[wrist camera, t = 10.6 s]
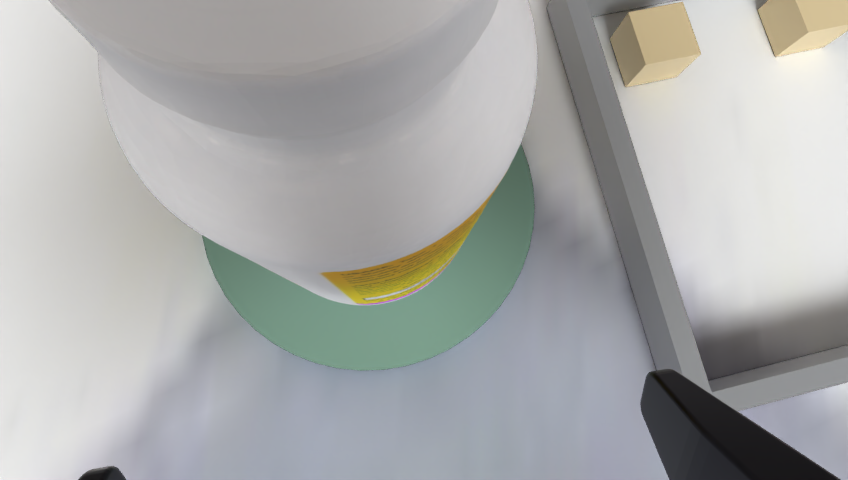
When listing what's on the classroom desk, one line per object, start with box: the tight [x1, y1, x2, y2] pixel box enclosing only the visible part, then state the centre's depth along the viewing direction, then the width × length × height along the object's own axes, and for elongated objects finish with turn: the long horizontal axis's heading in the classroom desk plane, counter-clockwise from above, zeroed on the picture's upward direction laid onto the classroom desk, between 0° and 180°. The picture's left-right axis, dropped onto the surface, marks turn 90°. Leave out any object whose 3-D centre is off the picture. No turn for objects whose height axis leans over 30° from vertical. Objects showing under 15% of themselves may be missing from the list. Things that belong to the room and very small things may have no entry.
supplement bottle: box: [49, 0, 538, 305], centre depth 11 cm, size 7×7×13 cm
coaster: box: [202, 144, 534, 370], centre depth 17 cm, size 11×11×1 cm
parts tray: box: [547, 0, 848, 411], centre depth 18 cm, size 15×12×2 cm
